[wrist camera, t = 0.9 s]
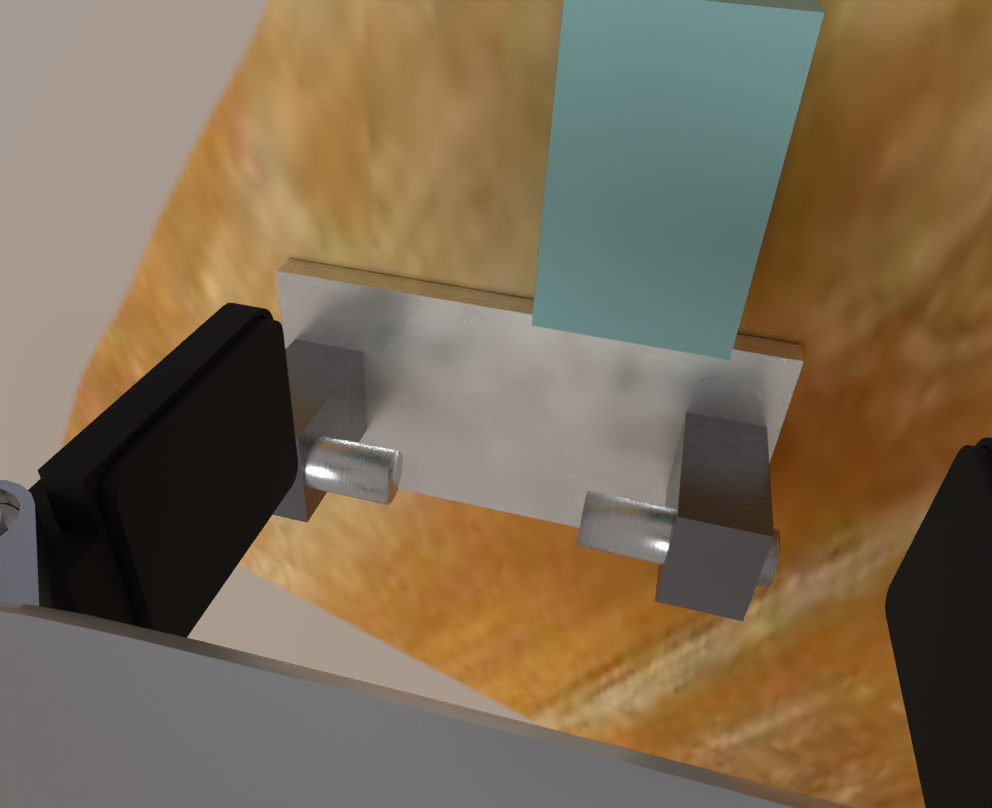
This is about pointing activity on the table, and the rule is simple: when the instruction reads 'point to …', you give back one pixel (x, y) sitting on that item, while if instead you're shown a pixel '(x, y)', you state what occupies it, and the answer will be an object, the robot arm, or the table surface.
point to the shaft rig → (538, 424)
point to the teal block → (666, 164)
